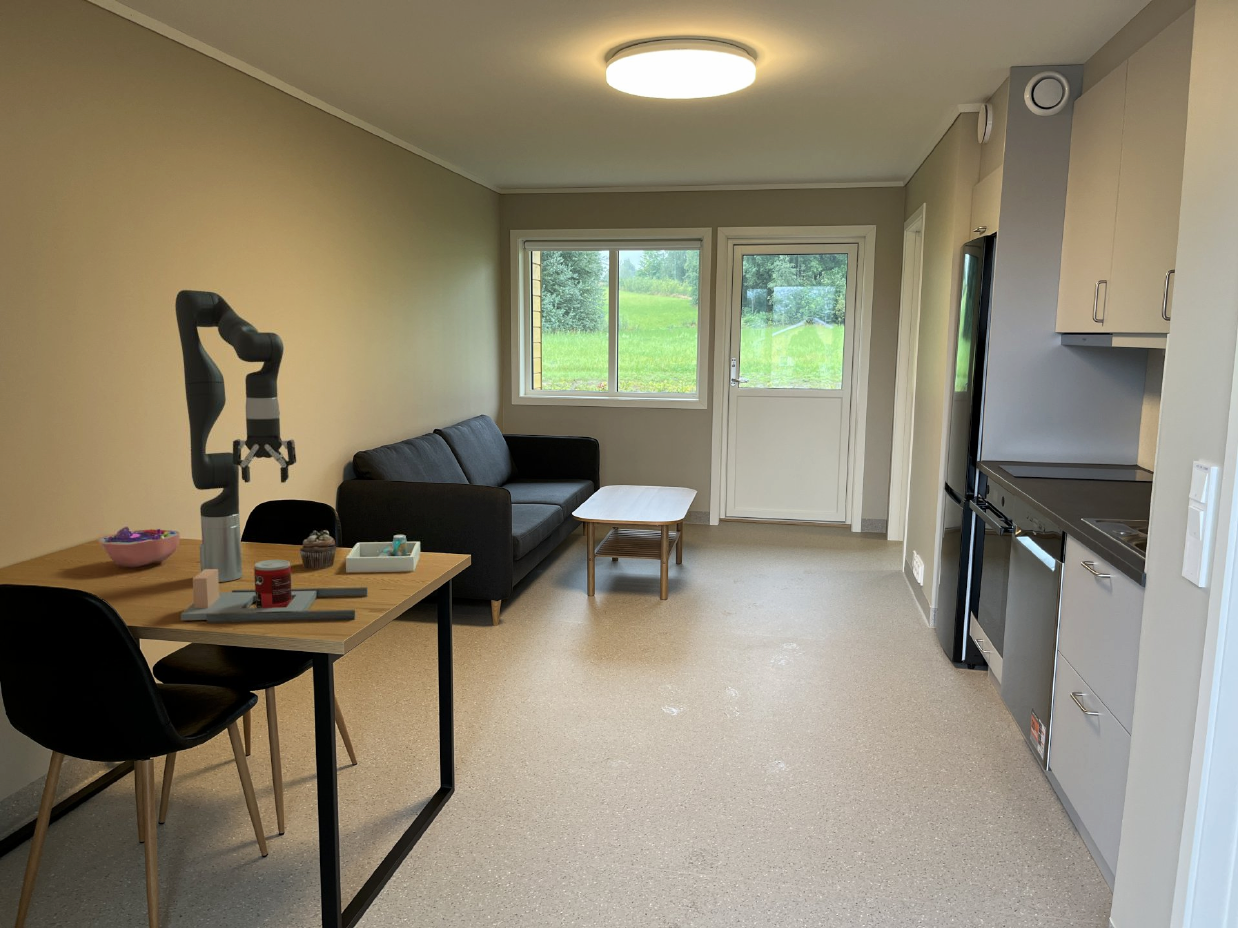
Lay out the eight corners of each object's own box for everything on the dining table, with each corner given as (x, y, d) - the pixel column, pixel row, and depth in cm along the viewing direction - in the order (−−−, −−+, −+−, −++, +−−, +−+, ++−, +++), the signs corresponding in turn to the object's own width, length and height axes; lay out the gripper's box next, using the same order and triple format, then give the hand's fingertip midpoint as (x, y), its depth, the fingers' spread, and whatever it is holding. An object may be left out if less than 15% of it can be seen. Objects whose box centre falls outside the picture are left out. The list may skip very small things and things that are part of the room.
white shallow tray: (346, 572, 238) (345, 558, 238) (357, 555, 256) (357, 542, 256) (413, 571, 241) (413, 557, 240) (420, 554, 258) (420, 541, 258)
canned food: (261, 604, 210) (259, 559, 208) (296, 603, 211) (294, 559, 209) (251, 614, 202) (249, 567, 201) (287, 613, 203) (285, 567, 202)
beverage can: (409, 568, 244) (408, 541, 242) (365, 568, 243) (364, 540, 242) (417, 558, 255) (417, 531, 254) (376, 557, 255) (375, 531, 254)
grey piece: (181, 620, 197) (179, 583, 195) (205, 599, 212) (203, 564, 211) (301, 617, 200) (300, 581, 199) (316, 596, 215) (315, 563, 214)
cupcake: (331, 559, 252) (330, 525, 250) (340, 567, 244) (339, 532, 242) (296, 563, 247) (295, 529, 245) (304, 571, 239) (303, 535, 237)
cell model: (188, 566, 242) (186, 526, 241) (105, 577, 231) (102, 535, 229) (176, 553, 256) (173, 515, 254) (97, 563, 244) (94, 524, 242)
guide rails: (207, 623, 196) (206, 614, 196) (233, 597, 214) (233, 589, 214) (354, 619, 200) (354, 610, 200) (367, 594, 218) (367, 587, 218)
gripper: (226, 417, 207) (230, 484, 209) (289, 417, 208) (291, 484, 211) (237, 414, 214) (240, 479, 217) (297, 414, 216) (299, 479, 218)
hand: (265, 482), depth 214 cm, fingers open, 8 cm apart
